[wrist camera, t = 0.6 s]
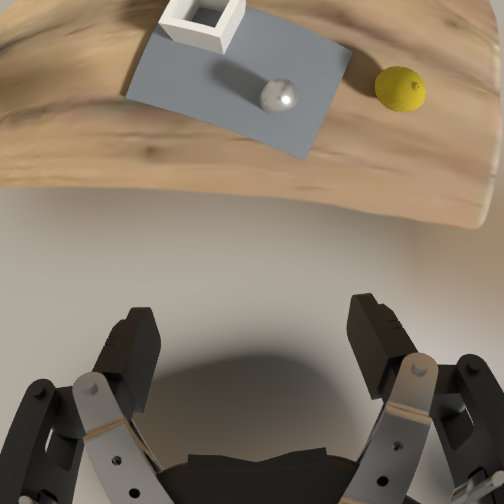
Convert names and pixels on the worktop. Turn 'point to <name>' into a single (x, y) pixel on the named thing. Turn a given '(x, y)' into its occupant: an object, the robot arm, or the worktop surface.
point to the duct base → (245, 78)
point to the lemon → (400, 89)
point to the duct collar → (198, 35)
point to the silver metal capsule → (278, 96)
